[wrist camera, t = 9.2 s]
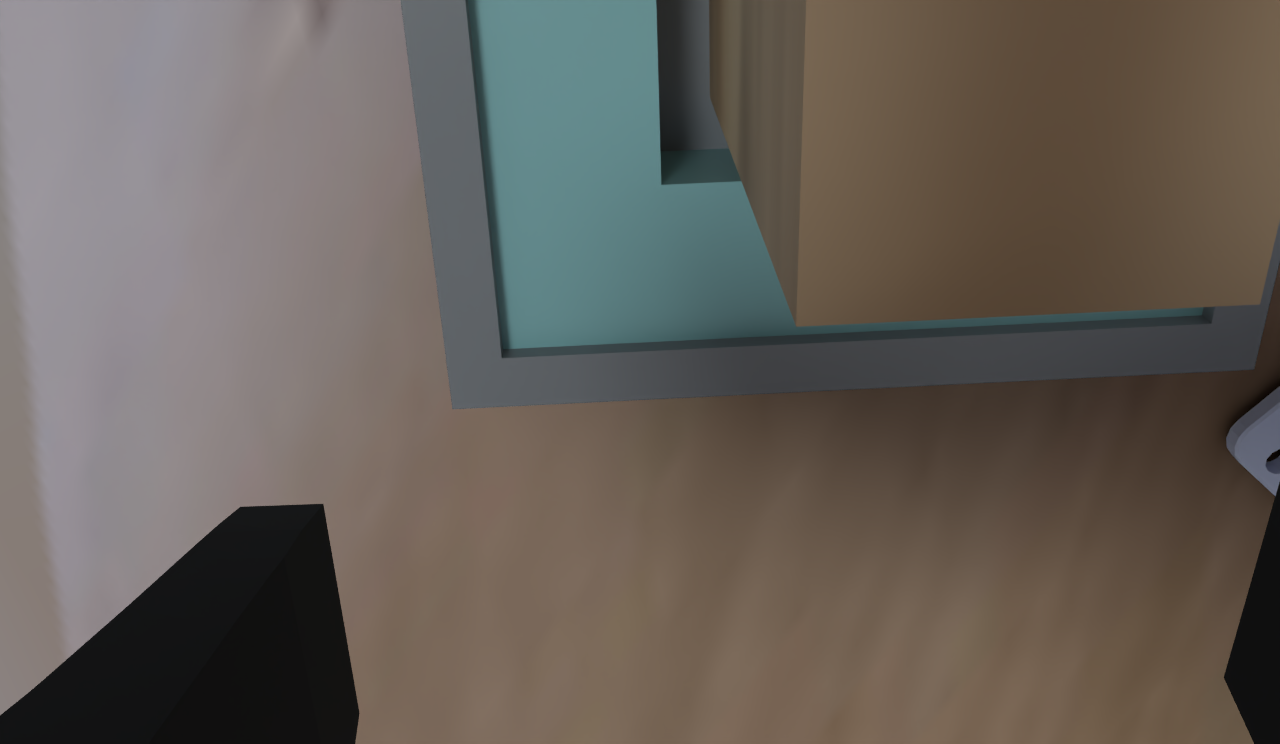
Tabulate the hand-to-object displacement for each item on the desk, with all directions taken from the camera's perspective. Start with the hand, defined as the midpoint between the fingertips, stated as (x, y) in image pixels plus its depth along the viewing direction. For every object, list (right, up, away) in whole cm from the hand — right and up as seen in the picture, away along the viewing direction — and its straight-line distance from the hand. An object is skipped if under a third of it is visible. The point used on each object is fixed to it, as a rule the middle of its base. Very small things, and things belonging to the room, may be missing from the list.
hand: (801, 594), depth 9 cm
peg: (+2, +8, +7) cm, 11 cm away
